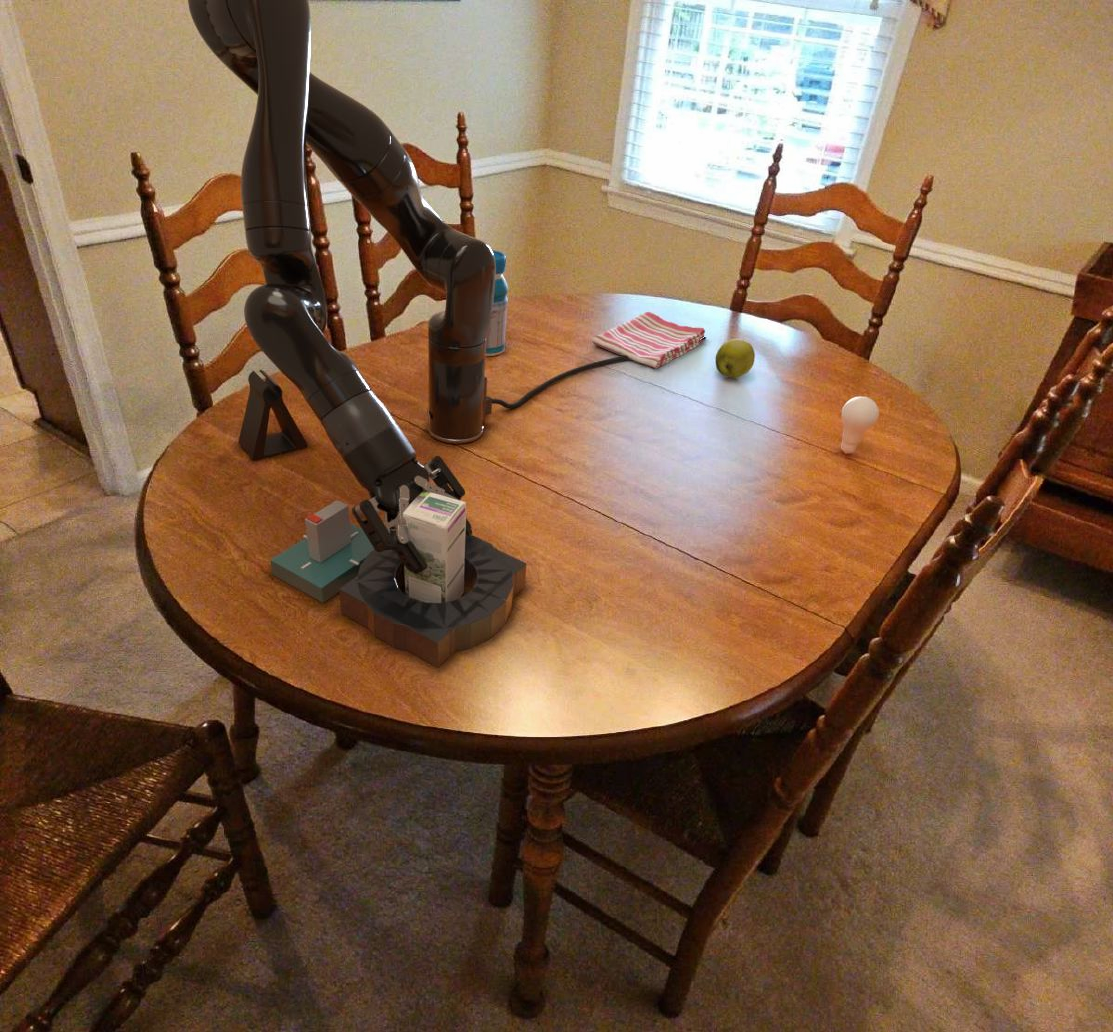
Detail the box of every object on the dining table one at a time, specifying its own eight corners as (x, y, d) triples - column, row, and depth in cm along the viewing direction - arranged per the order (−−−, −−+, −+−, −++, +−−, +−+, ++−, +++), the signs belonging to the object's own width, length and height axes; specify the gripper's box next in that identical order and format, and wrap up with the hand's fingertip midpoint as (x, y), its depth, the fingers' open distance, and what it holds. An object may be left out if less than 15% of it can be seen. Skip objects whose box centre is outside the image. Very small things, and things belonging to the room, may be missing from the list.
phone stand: (252, 461, 120) (241, 391, 113) (238, 444, 123) (227, 375, 116) (307, 447, 124) (300, 379, 118) (293, 431, 128) (285, 364, 121)
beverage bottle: (503, 359, 159) (509, 262, 148) (463, 355, 159) (465, 258, 148) (506, 343, 166) (511, 250, 155) (467, 340, 166) (469, 246, 155)
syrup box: (465, 592, 99) (468, 499, 91) (445, 621, 94) (446, 525, 86) (425, 580, 100) (424, 487, 92) (403, 607, 96) (400, 512, 87)
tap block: (338, 530, 107) (337, 514, 106) (391, 557, 103) (390, 541, 102) (270, 573, 99) (267, 557, 97) (325, 604, 95) (323, 588, 93)
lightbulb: (865, 450, 141) (885, 396, 135) (861, 465, 136) (882, 409, 130) (831, 441, 143) (849, 387, 136) (826, 455, 138) (845, 400, 132)
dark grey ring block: (426, 536, 108) (426, 513, 106) (539, 591, 101) (542, 567, 98) (326, 609, 94) (323, 584, 92) (448, 678, 87) (449, 653, 84)
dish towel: (705, 342, 178) (708, 327, 176) (655, 371, 161) (657, 355, 159) (643, 320, 185) (645, 306, 183) (588, 346, 169) (590, 331, 167)
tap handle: (340, 537, 102) (337, 498, 98) (351, 542, 101) (348, 503, 98) (309, 557, 98) (304, 517, 94) (320, 563, 97) (316, 523, 94)
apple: (755, 374, 165) (764, 339, 160) (740, 388, 158) (749, 352, 154) (721, 364, 168) (730, 329, 163) (705, 377, 161) (713, 341, 157)
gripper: (339, 450, 82) (423, 575, 85) (425, 404, 93) (498, 516, 95) (308, 475, 88) (388, 592, 90) (393, 429, 98) (463, 535, 100)
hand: (445, 553), depth 92 cm, fingers open, 8 cm apart
